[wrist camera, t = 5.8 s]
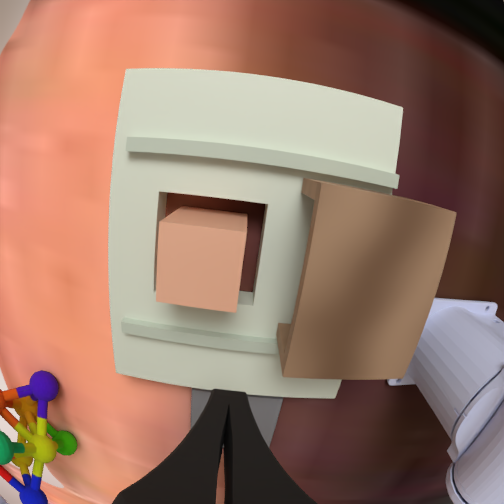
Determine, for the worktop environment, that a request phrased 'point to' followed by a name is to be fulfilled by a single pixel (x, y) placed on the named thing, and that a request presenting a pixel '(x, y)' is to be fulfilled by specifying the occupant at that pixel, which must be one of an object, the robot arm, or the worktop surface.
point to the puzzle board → (237, 188)
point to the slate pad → (260, 405)
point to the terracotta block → (201, 258)
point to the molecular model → (32, 435)
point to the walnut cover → (363, 284)
